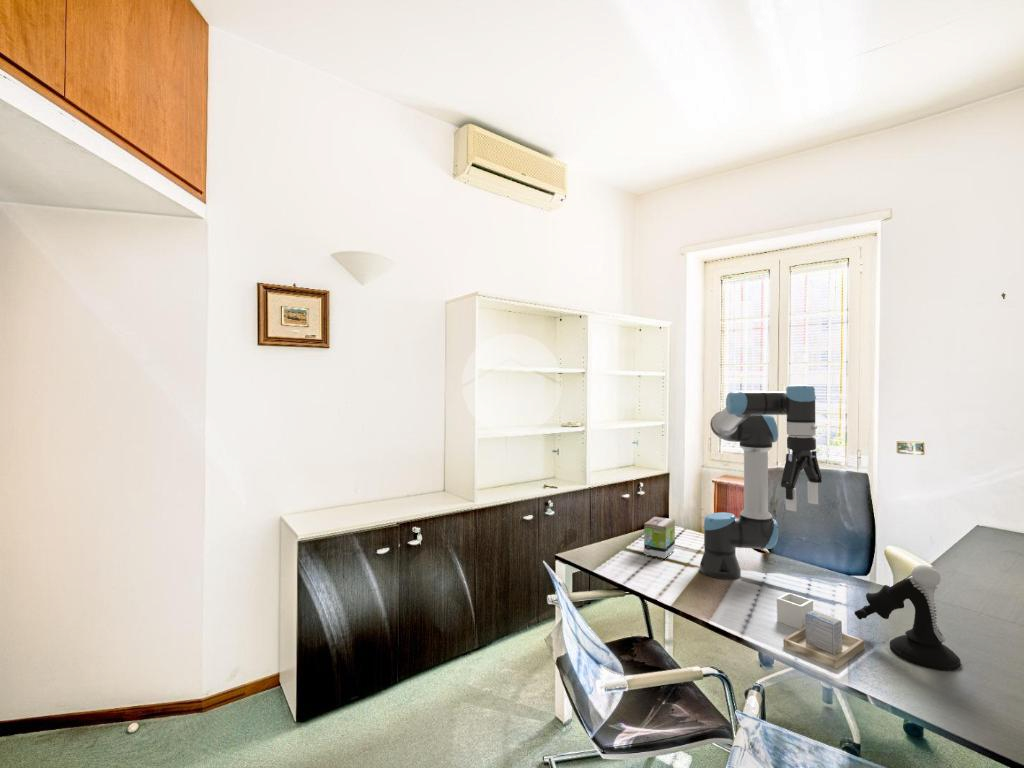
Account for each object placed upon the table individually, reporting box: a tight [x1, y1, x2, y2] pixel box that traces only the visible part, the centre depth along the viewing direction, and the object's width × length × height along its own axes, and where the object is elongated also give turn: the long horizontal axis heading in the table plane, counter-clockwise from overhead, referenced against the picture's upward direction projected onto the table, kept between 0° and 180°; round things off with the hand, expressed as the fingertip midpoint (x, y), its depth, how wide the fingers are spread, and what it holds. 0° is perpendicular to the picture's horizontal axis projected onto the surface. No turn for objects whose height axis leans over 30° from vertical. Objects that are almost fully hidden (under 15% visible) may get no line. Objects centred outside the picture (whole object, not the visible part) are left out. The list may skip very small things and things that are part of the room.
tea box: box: [643, 516, 676, 559], centre depth 221 cm, size 15×10×15 cm
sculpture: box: [854, 564, 962, 672], centre depth 139 cm, size 15×24×25 cm, turn 41°
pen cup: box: [776, 592, 814, 630], centre depth 154 cm, size 7×7×8 cm
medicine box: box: [805, 609, 843, 655], centre depth 139 cm, size 8×4×9 cm, turn 30°
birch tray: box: [783, 626, 865, 670], centre depth 139 cm, size 14×18×3 cm
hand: (802, 507), depth 148 cm, fingers open, 13 cm apart
